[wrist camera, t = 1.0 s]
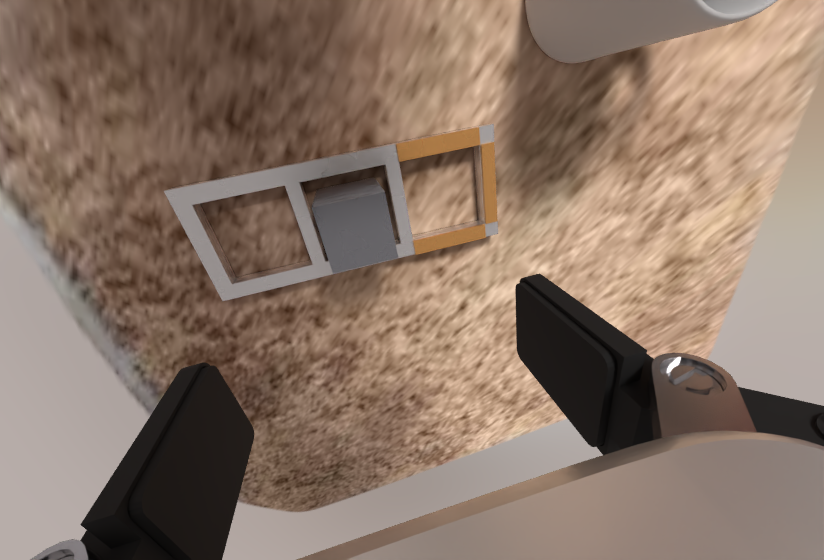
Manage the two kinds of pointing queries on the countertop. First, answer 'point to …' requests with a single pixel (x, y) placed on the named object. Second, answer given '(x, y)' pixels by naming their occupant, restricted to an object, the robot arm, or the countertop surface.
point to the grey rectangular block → (354, 224)
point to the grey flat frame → (292, 177)
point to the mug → (625, 23)
